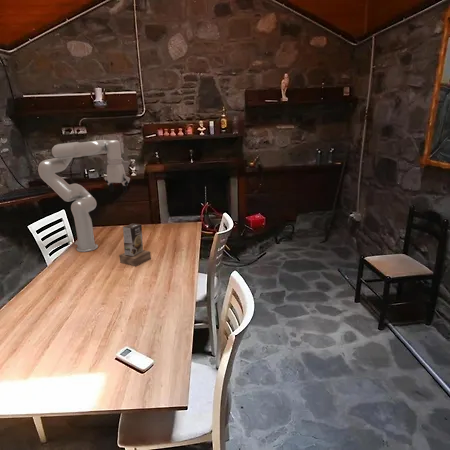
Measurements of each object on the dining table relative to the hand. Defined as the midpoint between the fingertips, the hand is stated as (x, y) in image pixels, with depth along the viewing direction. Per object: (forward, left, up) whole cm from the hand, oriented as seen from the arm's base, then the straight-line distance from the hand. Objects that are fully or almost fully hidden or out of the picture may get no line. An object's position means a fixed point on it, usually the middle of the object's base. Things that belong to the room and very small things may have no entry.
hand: (118, 191), depth 205 cm
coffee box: (+16, -13, -32) cm, 38 cm away
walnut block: (+16, -13, -37) cm, 42 cm away
